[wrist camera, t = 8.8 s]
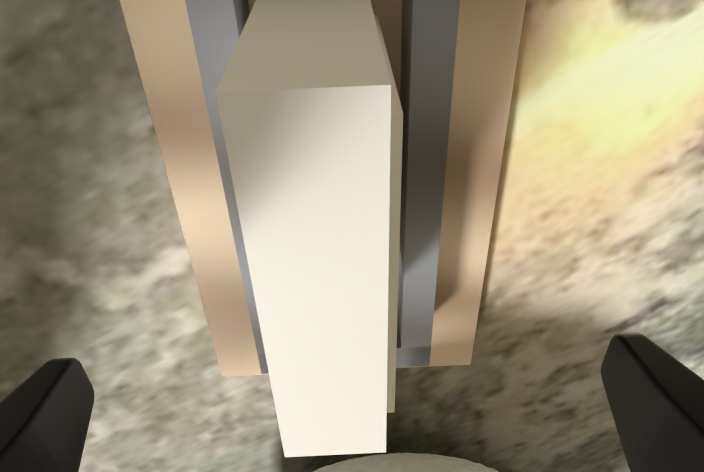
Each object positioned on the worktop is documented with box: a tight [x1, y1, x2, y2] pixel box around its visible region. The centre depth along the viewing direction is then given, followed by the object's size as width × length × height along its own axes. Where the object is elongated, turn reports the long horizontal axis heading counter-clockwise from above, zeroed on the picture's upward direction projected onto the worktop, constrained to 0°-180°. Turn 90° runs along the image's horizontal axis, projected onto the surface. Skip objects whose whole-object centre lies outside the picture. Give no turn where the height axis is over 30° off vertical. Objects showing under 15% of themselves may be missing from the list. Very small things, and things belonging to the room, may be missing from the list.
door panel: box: [216, 0, 403, 457], centre depth 13 cm, size 9×3×7 cm, turn 2°
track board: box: [120, 0, 526, 377], centre depth 15 cm, size 20×10×3 cm, turn 2°
